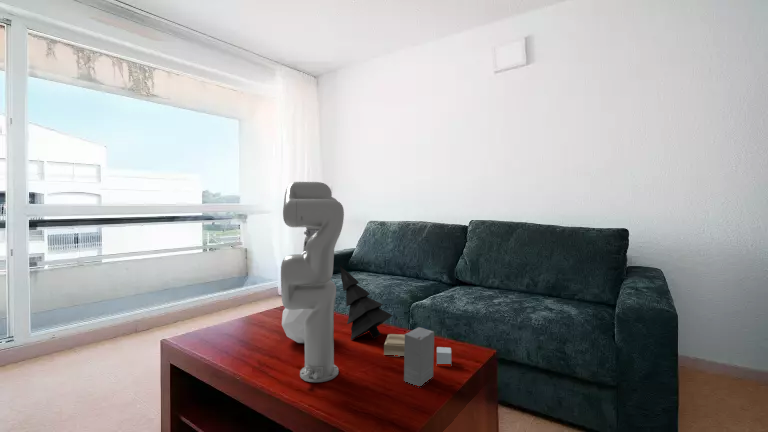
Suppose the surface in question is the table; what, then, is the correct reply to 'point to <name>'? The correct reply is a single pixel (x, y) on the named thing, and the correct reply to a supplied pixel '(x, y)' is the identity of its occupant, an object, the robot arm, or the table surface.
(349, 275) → the decorative tree
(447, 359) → the block
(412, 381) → the skincare box
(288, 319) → the geometric sculpture
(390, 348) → the plinth
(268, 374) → the table surface
